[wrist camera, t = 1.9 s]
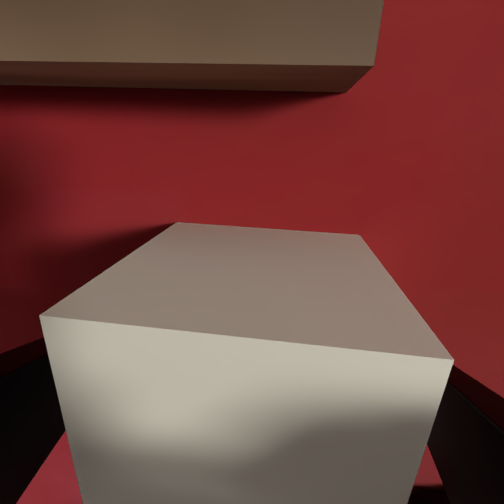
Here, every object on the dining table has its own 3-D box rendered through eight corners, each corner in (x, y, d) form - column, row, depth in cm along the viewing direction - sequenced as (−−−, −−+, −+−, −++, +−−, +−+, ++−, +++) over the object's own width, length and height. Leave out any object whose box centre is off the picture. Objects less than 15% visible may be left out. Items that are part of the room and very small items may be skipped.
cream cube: (334, 382, 12) (374, 604, 6) (184, 364, 12) (93, 550, 7) (358, 234, 10) (454, 360, 4) (177, 221, 10) (38, 315, 5)
